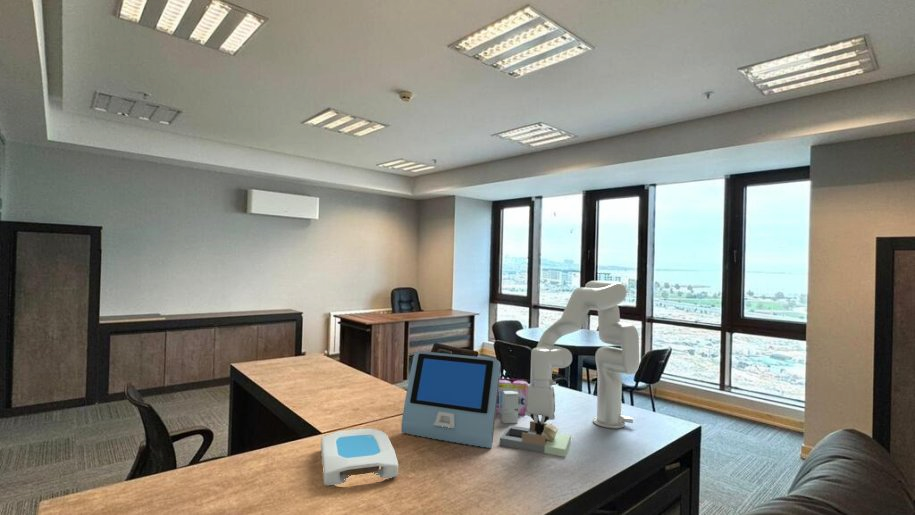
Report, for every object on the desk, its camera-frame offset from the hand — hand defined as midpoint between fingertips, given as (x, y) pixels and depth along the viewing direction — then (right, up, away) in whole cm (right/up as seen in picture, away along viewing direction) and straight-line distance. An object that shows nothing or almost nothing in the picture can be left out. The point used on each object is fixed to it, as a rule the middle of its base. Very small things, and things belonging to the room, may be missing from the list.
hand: (539, 433), depth 158 cm
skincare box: (-8, -5, +23) cm, 25 cm away
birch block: (+3, -1, -1) cm, 3 cm away
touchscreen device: (-32, -4, +8) cm, 33 cm away
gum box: (-11, -5, +36) cm, 38 cm away
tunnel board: (-1, -4, +1) cm, 4 cm away
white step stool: (-62, -2, -19) cm, 65 cm away
